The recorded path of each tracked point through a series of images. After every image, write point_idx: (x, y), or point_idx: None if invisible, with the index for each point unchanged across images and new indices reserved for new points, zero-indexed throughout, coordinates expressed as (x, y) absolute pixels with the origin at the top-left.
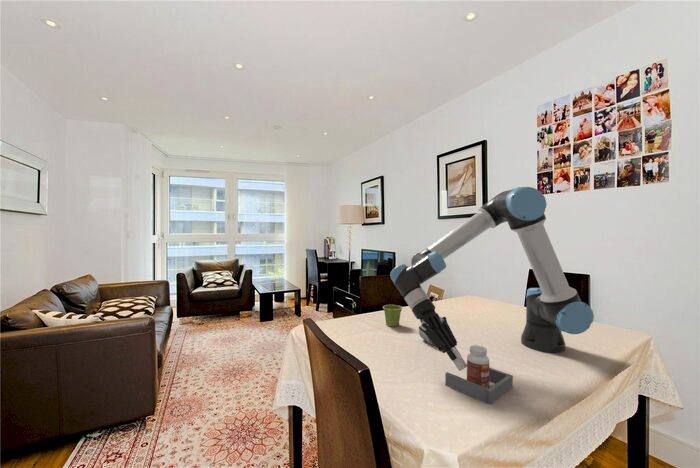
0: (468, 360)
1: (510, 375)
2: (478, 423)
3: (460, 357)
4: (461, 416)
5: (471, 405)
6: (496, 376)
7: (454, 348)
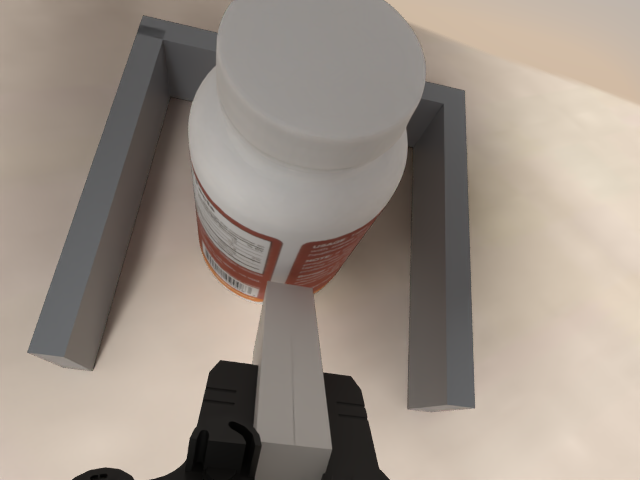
0: (382, 208)
1: (153, 25)
2: (596, 143)
3: (290, 337)
4: (617, 208)
5: (507, 201)
6: (146, 130)
7: (286, 426)
